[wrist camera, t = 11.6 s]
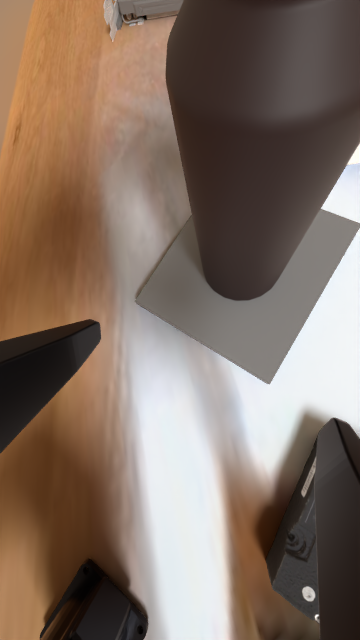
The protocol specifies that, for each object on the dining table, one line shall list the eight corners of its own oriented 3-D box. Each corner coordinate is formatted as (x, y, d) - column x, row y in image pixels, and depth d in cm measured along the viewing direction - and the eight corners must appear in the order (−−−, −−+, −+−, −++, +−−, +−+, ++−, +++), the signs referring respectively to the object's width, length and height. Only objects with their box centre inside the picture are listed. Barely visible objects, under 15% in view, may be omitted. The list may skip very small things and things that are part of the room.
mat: (267, 383, 19) (269, 384, 18) (138, 304, 23) (134, 301, 22) (355, 230, 21) (361, 224, 20) (220, 179, 24) (220, 171, 23)
